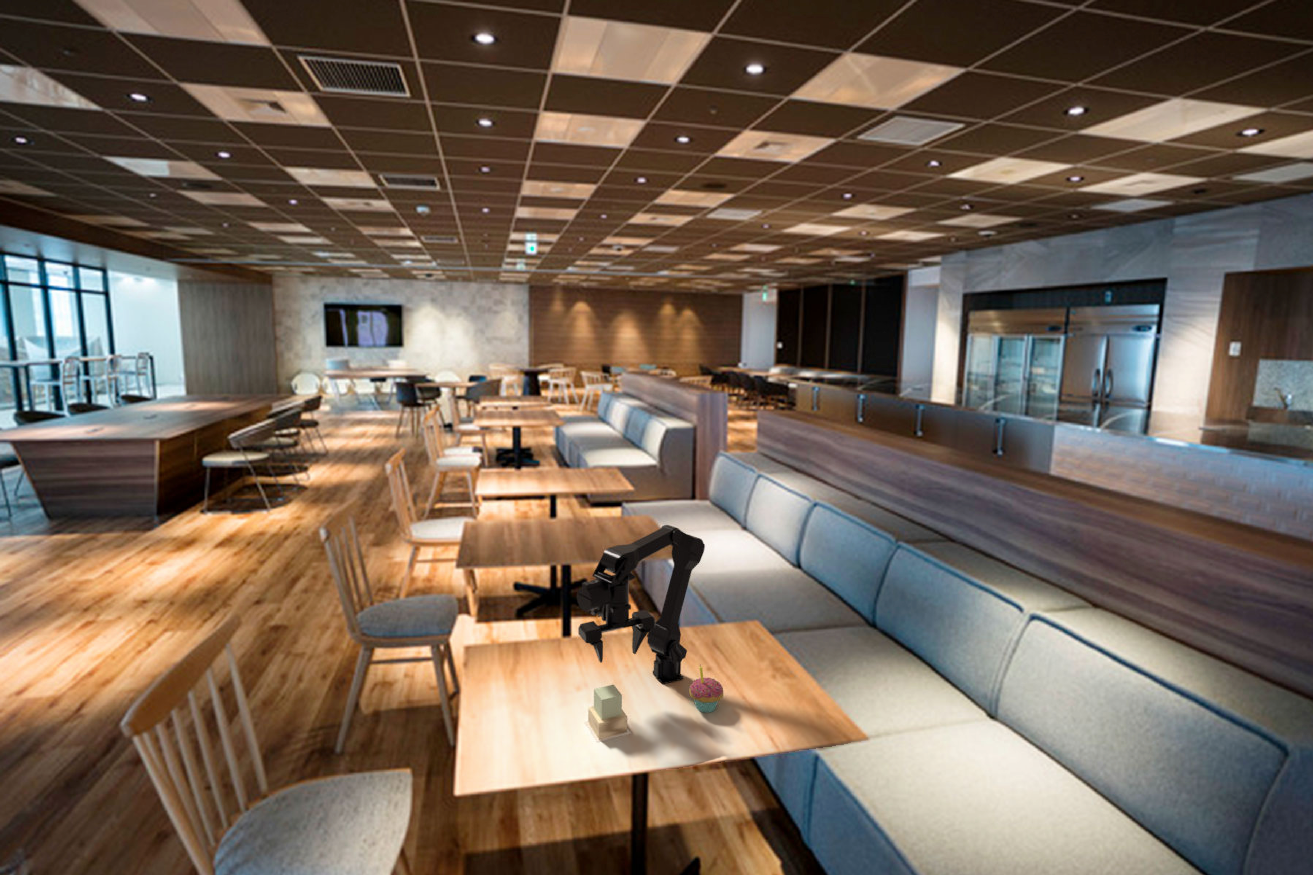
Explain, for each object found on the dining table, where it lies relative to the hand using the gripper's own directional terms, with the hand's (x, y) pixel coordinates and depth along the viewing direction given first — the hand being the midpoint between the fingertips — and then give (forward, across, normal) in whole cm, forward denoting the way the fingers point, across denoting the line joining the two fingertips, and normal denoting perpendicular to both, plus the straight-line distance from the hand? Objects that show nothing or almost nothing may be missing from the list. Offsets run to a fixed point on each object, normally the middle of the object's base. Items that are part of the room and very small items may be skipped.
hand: (617, 657), depth 166 cm
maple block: (+11, +7, +11) cm, 17 cm away
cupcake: (+12, -18, +12) cm, 25 cm away
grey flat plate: (+11, +5, +11) cm, 16 cm away
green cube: (+7, +7, +10) cm, 14 cm away
